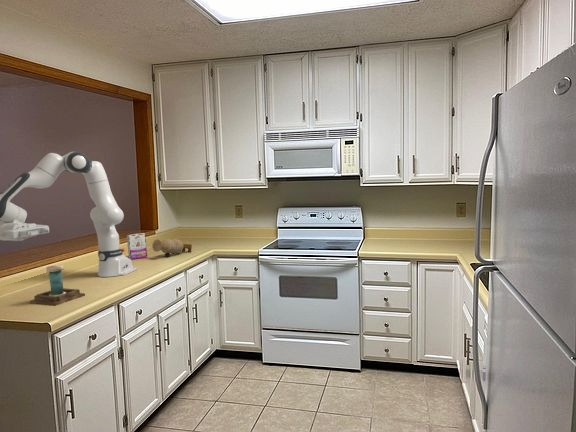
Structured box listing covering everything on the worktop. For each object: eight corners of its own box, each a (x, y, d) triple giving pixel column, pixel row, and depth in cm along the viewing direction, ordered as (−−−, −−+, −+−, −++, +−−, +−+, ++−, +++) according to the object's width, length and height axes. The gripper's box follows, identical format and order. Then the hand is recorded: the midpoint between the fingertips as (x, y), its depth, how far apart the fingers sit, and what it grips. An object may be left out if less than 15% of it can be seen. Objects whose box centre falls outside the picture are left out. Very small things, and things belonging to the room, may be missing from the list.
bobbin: (58, 294, 211) (55, 264, 209) (69, 295, 208) (66, 265, 207) (45, 298, 204) (42, 268, 203) (56, 299, 202) (53, 268, 200)
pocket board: (59, 293, 217) (59, 287, 216) (84, 295, 210) (84, 289, 210) (29, 302, 202) (29, 296, 202) (55, 305, 196) (55, 298, 195)
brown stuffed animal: (181, 256, 320) (150, 256, 294) (182, 239, 321) (151, 237, 295) (192, 257, 316) (161, 257, 289) (193, 240, 316) (163, 238, 290)
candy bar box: (145, 256, 306) (143, 232, 304) (147, 257, 302) (145, 233, 300) (128, 259, 299) (126, 234, 298) (130, 260, 295) (128, 235, 294)
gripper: (-3, 228, 208) (17, 228, 203) (36, 222, 227) (56, 223, 222) (-2, 241, 209) (19, 242, 204) (37, 235, 228) (57, 235, 223)
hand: (39, 232), depth 213 cm, fingers open, 8 cm apart
